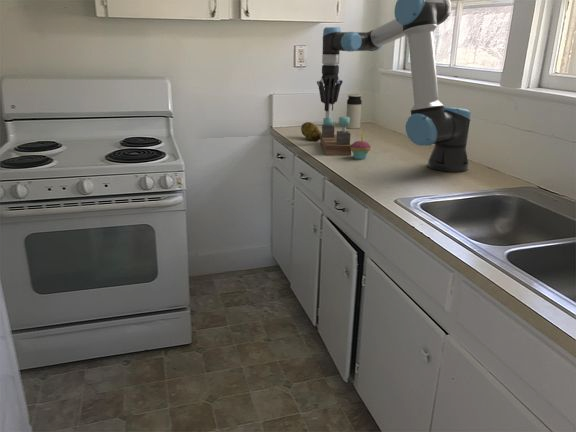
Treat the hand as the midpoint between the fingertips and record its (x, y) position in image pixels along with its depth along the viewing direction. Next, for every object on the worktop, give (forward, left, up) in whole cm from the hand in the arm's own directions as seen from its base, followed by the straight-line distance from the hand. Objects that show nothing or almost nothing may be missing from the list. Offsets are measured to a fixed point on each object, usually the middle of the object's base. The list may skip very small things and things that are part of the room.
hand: (328, 118), depth 221 cm
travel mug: (+46, -19, -13) cm, 51 cm away
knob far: (0, 0, -8) cm, 8 cm away
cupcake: (-26, -11, -13) cm, 31 cm away
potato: (+13, +7, -13) cm, 19 cm away
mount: (-8, -3, -13) cm, 15 cm away
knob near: (-16, -5, -5) cm, 18 cm away
